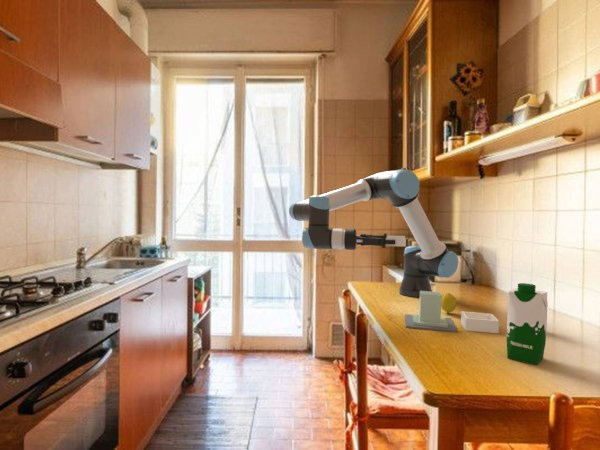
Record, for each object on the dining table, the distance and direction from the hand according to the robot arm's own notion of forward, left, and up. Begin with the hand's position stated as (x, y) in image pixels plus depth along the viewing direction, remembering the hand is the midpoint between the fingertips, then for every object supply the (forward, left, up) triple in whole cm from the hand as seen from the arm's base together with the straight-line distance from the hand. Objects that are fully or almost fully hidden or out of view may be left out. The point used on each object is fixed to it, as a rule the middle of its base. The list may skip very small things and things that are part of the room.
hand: (405, 240), depth 139 cm
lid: (-6, +6, -28) cm, 29 cm away
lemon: (-25, -1, -29) cm, 38 cm away
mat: (-6, +6, -28) cm, 30 cm away
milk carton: (-3, +41, -29) cm, 50 cm away
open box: (-18, +17, -28) cm, 38 cm away
